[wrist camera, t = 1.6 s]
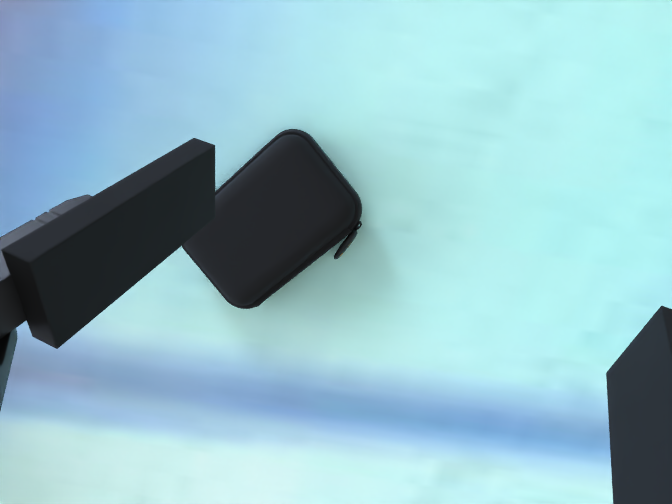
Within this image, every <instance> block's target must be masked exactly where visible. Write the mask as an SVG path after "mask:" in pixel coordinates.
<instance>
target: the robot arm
mask: <svg viewBox="0 0 672 504" xmlns="http://www.w3.org/2000/svg"><path fill="white" fill-rule="evenodd" d="M214 218H215V145H213V144H210V143H207V142H204V141H201V140H199V139H196V138H193V139H191V140H189V141H188V142H186V143H184V144H183V145H181V146H179V147H177V148H176V149H174V150H172V151H170V152H169V153H167V154H165V155H164V156H162V157H160V158H158V159H157V160H155V161H153V162H152V163H150V164H148V165H146V166H145V167H143V168H141V169H139V170H138V171H136V172H134V173H133V174H131V175H129V176H127V177H126V178H124V179H122V180H120V181H119V182H117V183H115V184H114V185H112V186H110V187H108V188H107V189H105V190H103V191H101V192H100V193H98V194H96V195H95V196H90V195H84V196H81V197H77V198H73V199H70V200H66V201H65V202H63V203H61V204H59V205H58V206H56V207H54V208H52V209H50V210H49V212H45V213H43V214H41V215H40V216H38V217H36V219H35V220H31V221H29V222H27V223H25V224H23V225H22V226H20V227H18V228H16V229H14V230H13V231H11V232H9V233H7V234H5V235H4V236H2V237H0V410H1V406H2V402H3V397H4V393H5V389H6V385H7V380H8V376H9V372H10V368H11V363H12V359H13V355H14V351H15V347H16V342H17V331H16V327H18V326H19V325H20V324H22V323H23V322H24V321H26V320H27V322H28V325H29V328H30V331H31V333H32V336H33V337H35V338H37V339H39V340H41V341H43V342H45V343H46V344H48V345H50V346H52V347H54V348H56V349H58V348H59V347H60V346H61V345H62V344H64V343H65V342H66V341H67V340H68V339H70V338H71V337H72V336H73V335H74V334H76V333H77V332H78V331H79V330H81V329H82V328H83V327H84V326H85V325H87V324H88V323H89V322H90V321H91V320H93V319H94V318H95V317H96V316H97V315H99V314H100V313H101V312H102V311H103V310H105V309H106V308H107V307H108V306H109V305H111V304H112V303H113V302H114V301H115V300H117V299H118V298H119V297H120V296H121V295H123V294H124V293H125V292H126V291H127V290H129V289H130V288H131V287H132V286H133V285H135V284H136V283H137V282H138V281H140V280H141V279H142V278H143V277H144V276H146V275H147V274H148V273H149V272H150V271H152V270H153V269H154V268H155V267H156V266H158V265H159V264H160V263H161V262H162V261H164V260H165V259H166V258H167V257H168V256H170V255H171V254H172V253H173V252H174V251H176V250H177V249H178V248H179V247H180V246H182V245H183V244H184V243H185V242H186V241H188V240H189V239H190V238H191V237H192V236H194V235H195V234H196V233H197V232H199V231H200V230H201V229H202V228H203V227H205V226H206V225H207V224H208V223H209V222H211V221H212V220H213V219H214ZM606 376H607V395H608V413H609V431H610V450H611V468H612V486H613V504H672V309H669V308H666V307H664V306H661V307H660V308H659V309H658V311H657V312H656V313H655V314H654V315H653V317H652V318H651V319H650V320H649V322H648V323H647V324H646V325H645V326H644V328H643V329H642V330H641V331H640V332H639V334H638V335H637V336H636V337H635V339H634V340H633V341H632V342H631V343H630V345H629V346H628V347H627V348H626V350H625V351H624V352H623V353H622V354H621V356H620V357H619V358H618V359H617V360H616V362H615V363H614V364H613V365H612V367H611V368H610V369H609V370H608V371H607V373H606Z"/></svg>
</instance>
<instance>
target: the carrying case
mask: <svg viewBox="0 0 672 504" xmlns="http://www.w3.org/2000/svg"><path fill="white" fill-rule="evenodd" d="M361 214H362V204H361V200H360V198H359V196H358V194H357V193H356V191H355V190H354V189H353V188H352V186H351V185H350V184H349V183H348V181H347V180H346V179H345V178H344V176H343V175H342V174H341V173H340V171H339V170H338V169H337V168H336V166H335V165H334V164H333V163H332V161H331V160H330V159H329V158H328V156H327V155H326V154H325V153H324V151H323V150H322V149H321V148H320V147H319V145H318V144H317V143H316V142H315V140H314V139H313V138H312V137H311V136H310V135H309V134H308V133H306V132H304V131H301V130H297V129H289V130H285V131H282V132H281V133H279V134H278V135H277V136H275V137H274V138H273V139H272V140H271V141H270V142H269V143H268V144H266V145H265V146H264V147H263V148H262V149H261V150H260V151H259V152H258V153H257V154H256V155H255V156H253V157H252V158H251V159H250V160H249V161H248V162H247V163H246V164H245V165H244V166H243V167H242V168H240V169H239V170H238V171H237V172H236V173H235V174H234V175H233V176H232V177H231V178H230V179H229V180H227V181H226V182H225V183H224V184H223V185H222V186H221V187H220V188H219V189H218V190H217V191H215V218H214V219H213V220H212V221H211V222H209V223H208V224H207V225H206V226H205V227H203V228H202V229H201V230H200V231H199V232H197V233H196V234H195V235H194V236H192V237H191V238H190V239H189V240H188V241H186V242H185V243H184V244H183V245H182V247H183V249H184V250H185V251H186V253H187V254H188V255H189V256H190V257H191V259H192V260H193V261H194V262H195V263H196V265H197V266H198V267H199V268H200V269H201V271H202V272H203V273H204V274H205V275H206V277H207V278H208V279H209V280H210V281H211V283H212V284H213V285H214V286H215V287H216V289H217V290H218V291H219V292H220V293H221V295H222V296H223V297H224V298H225V299H226V301H227V302H228V303H230V304H231V305H233V306H235V307H238V308H242V309H250V308H254V307H257V306H259V305H260V304H261V303H262V302H263V301H265V300H266V299H267V298H269V297H270V296H271V295H272V294H274V293H275V292H276V291H277V290H279V289H280V288H281V287H283V286H284V285H285V284H286V283H288V282H289V281H290V280H291V279H293V278H294V277H295V276H297V275H298V274H299V273H300V272H302V271H303V270H304V269H305V268H307V267H308V266H309V265H311V264H312V263H313V262H314V261H316V260H317V259H318V258H319V257H321V256H322V255H323V254H325V253H326V252H327V251H328V250H330V249H331V248H332V247H333V246H335V245H336V244H337V243H339V242H340V241H341V240H342V239H344V238H345V237H346V236H347V235H348V236H347V237H346V239H345V240H344V241H343V243H342V244H341V245H340V247H339V248H338V250H337V251H336V253H335V255H334V259H338V258H339V257H340V256H341V255H342V254H343V253H344V251H345V250H346V249H347V248H348V247H349V245H350V244H351V243H352V241H353V240H354V238H355V237H356V235H357V230H358V229H359V228H360V227H361V225H362V223H361V221H360V218H361ZM359 224H360V226H359Z"/></svg>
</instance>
